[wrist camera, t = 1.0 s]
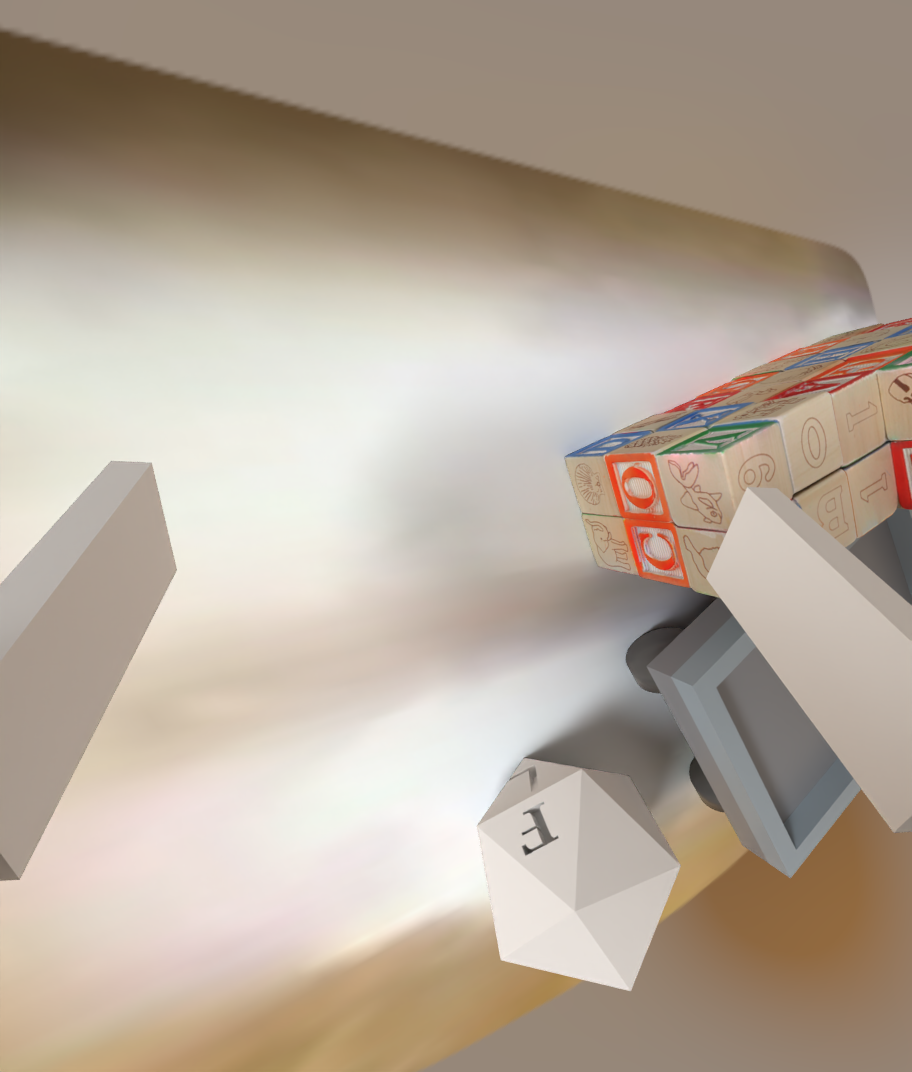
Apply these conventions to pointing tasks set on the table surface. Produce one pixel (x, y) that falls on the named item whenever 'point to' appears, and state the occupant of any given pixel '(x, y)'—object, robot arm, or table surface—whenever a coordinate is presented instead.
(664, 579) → the stack of blocks
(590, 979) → the die
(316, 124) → the table surface
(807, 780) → the trolley
